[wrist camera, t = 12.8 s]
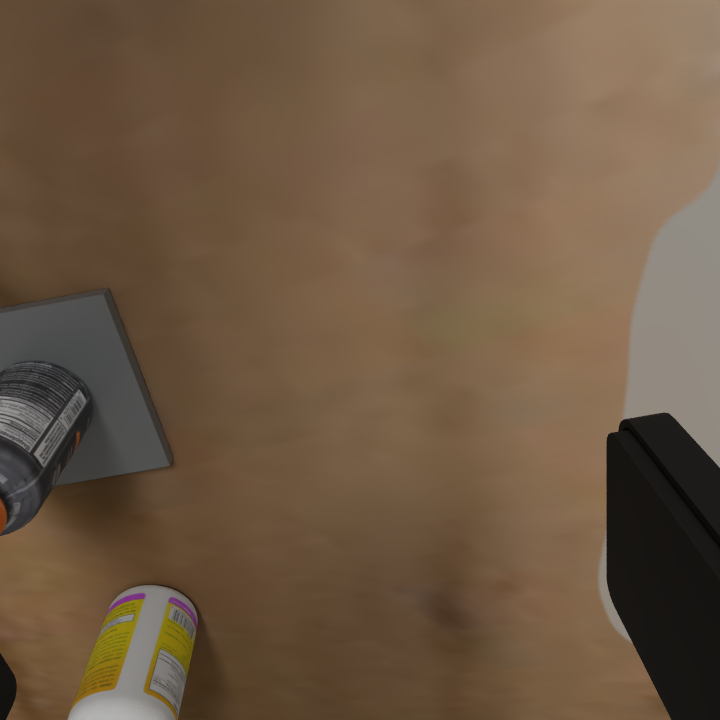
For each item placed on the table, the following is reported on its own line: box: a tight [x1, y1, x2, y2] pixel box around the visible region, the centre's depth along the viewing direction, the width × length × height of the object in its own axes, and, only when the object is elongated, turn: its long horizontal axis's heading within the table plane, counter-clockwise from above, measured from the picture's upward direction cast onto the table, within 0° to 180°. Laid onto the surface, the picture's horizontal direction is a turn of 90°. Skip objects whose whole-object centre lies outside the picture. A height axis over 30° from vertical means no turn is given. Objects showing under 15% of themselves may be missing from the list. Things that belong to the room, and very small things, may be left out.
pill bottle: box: [0, 360, 93, 536], centre depth 33 cm, size 6×6×11 cm
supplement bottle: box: [68, 585, 198, 720], centre depth 42 cm, size 7×7×13 cm
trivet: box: [0, 288, 173, 486], centre depth 39 cm, size 12×12×1 cm
